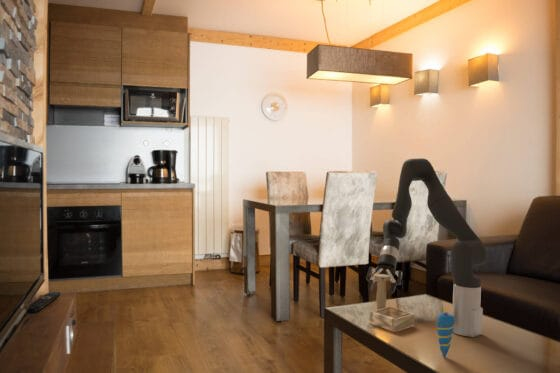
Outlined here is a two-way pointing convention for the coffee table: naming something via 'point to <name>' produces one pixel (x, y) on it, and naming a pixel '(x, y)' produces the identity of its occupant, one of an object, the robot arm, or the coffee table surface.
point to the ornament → (445, 331)
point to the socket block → (392, 319)
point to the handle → (381, 290)
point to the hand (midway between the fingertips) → (381, 290)
